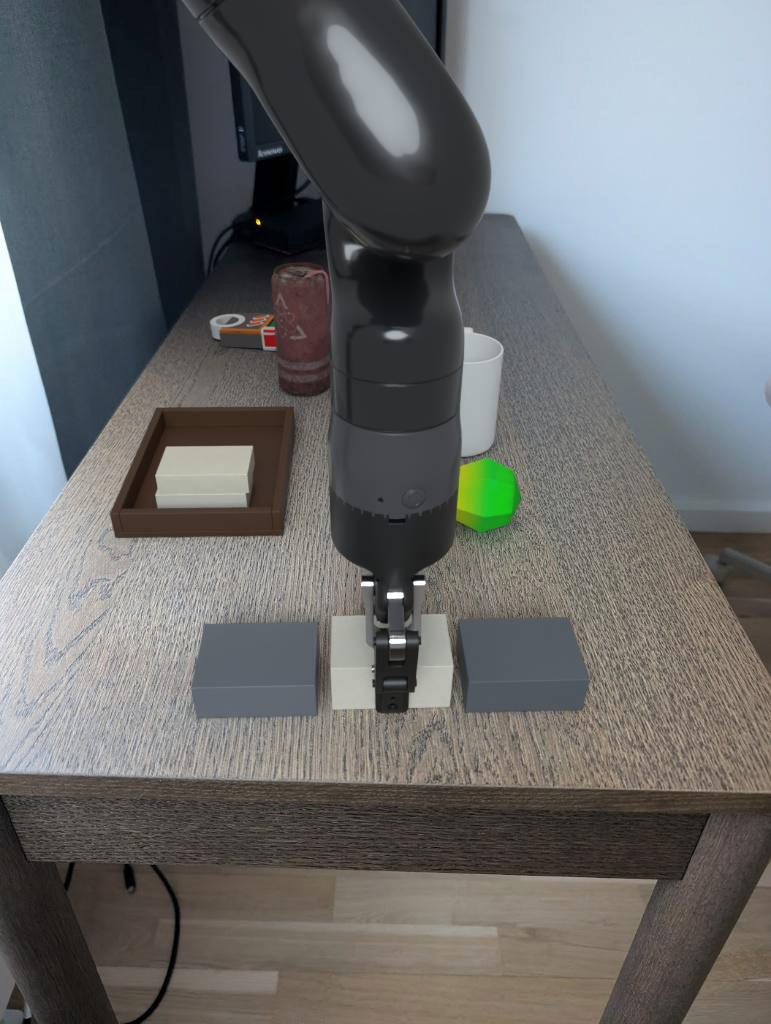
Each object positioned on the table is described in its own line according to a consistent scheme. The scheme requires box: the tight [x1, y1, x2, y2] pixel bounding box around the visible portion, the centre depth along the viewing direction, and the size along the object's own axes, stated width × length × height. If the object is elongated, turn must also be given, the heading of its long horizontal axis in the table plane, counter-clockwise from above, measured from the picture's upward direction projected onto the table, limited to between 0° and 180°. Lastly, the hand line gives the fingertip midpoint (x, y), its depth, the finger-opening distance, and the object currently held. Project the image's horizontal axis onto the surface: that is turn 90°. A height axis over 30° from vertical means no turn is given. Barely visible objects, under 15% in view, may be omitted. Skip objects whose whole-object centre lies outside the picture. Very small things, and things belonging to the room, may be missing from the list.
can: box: [270, 262, 331, 397], centre depth 88 cm, size 6×6×14 cm
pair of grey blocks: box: [190, 616, 591, 719], centre depth 54 cm, size 26×6×3 cm, turn 92°
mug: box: [460, 326, 505, 458], centre depth 81 cm, size 12×8×10 cm, turn 172°
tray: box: [109, 405, 296, 539], centre depth 75 cm, size 15×20×3 cm
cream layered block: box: [155, 446, 255, 508], centre depth 71 cm, size 8×5×4 cm, turn 92°
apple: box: [456, 457, 523, 534], centre depth 69 cm, size 7×6×9 cm
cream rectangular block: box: [329, 613, 454, 711], centre depth 53 cm, size 8×5×4 cm, turn 92°
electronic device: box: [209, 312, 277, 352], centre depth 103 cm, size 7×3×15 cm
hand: (389, 677), depth 54 cm, fingers closed on cream rectangular block, 5 cm apart
